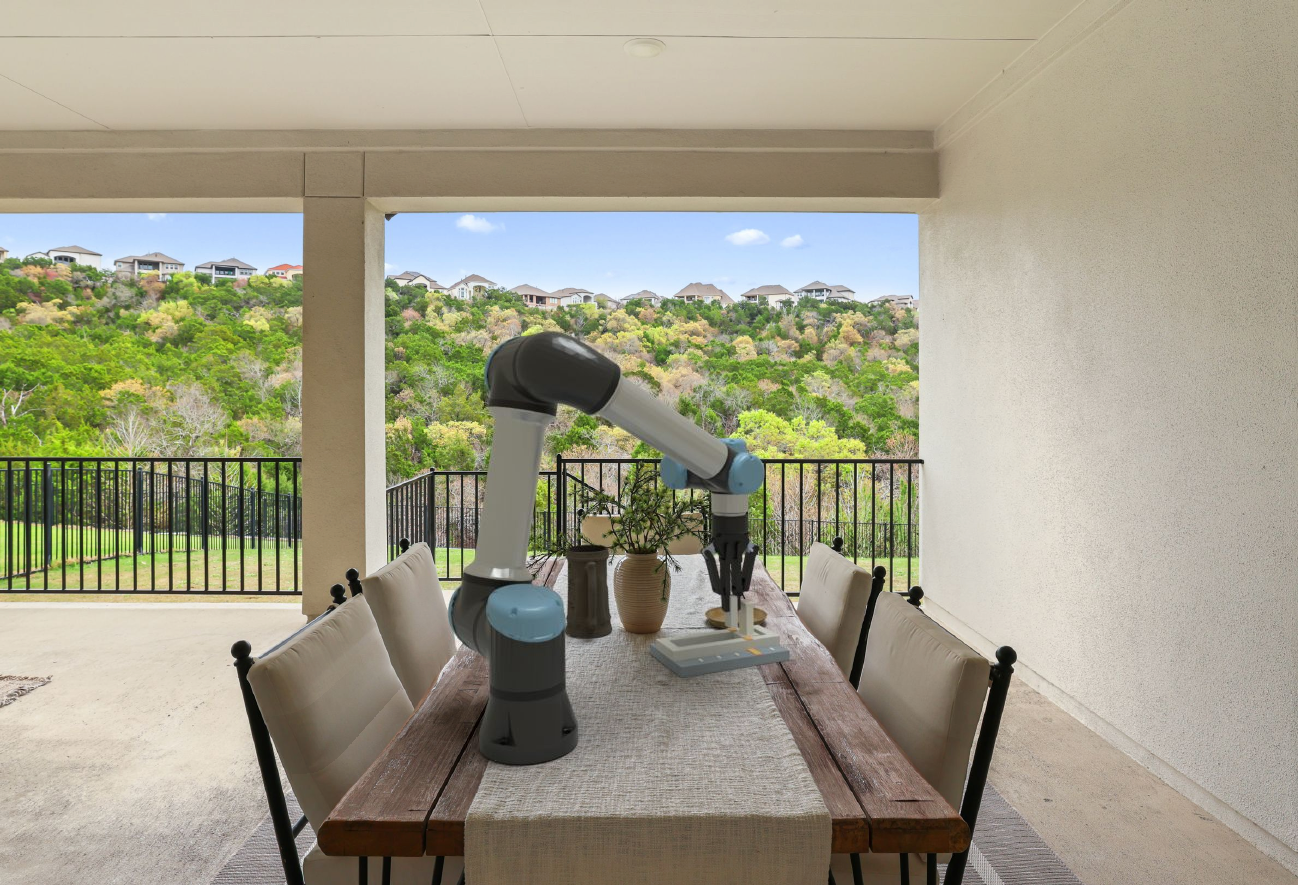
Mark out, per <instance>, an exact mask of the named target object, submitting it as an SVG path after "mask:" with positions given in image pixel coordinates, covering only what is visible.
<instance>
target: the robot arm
mask: <svg viewBox="0 0 1298 885" xmlns="http://www.w3.org/2000/svg"><path fill="white" fill-rule="evenodd" d="M483 372H484V373H483V378H484V383H485V385H486V388H487V390H488V392H489V399H488V405H487V406H488V407H487V410H488V411H489V413H490V415H492V417H493V418H494V428H493V434H492V441H491V448H490V455H489V461H488V462H489V463H488V468H487V475H486V481H485V487H484V488H485V489H484V495H483V499H482V500H483V501H482V502H483V503H482V509H481V514H480V521H479V527H478V535H477V541H476V548H475V555H474V559H473V561H472V562H471V563H468V565H466V566H465V567H464V568H463V573H462V577H461V578H462V579H461V584H460V585H459V586H458V587H457V588H456V589H455V590H454V592H453V593H452V595H451V597H450V600H449V603H448V608H447V618H448V623H449V626H450V629H451V630H452V632H453V634H454V635H455V636H456V637H457V639H458V640H459V641H460V642H461V643H462V644H463V645H464V646H465V647H466V648H468V649H470V650H472V651H474V652H476V653H477V654H478V655H480V656H482V657H483V658H485V659H486V660H488V674H489V675H488V677H489V679H488V681H489V698H488V700H487V705H486V708H485V712H484V715H483V718H482V722H481V725H480V728H479V734H478V742H479V743H478V744H479V746H478V747H479V748H478V749H479V751H480V753H481V755H483V757H486V758H487V759H489V760H491V761H493V760H496V761H495V762H498V763H502V764H509V765H531V764H538V763H544V762H549V761H551V760H555V759H557V758H560V757H563V756H565V755H566V754H568V753H569V752H571V751H572V750H573V749H574V748H576V746H577V745H578V743H579V737H580V736H579V724H578V720H577V717H576V714H575V711H574V709H573V706H572V704H571V700H570V697H569V695H568V690H567V672H566V670H567V664H566V663H567V662H566V660H567V658H566V625H567V620H566V613H565V607H564V606H565V605H564V600H563V598H562V597H561V595H560V594H559V593H558V592H557V591H556V590H554V589H552V588H549V587H547V586H544V585H535V584H533V578H534V577H533V575H532V573H531V572H530V571H529V570H528V568H527V566H526V562H527V556H528V550H529V544H530V535H531V529H532V521H533V514H534V509H535V508H534V507H535V503H536V497H537V496H536V494H537V489H538V482H539V481H538V480H539V475H540V468H541V462H542V461H541V460H542V453H543V449H544V441H545V435H546V434H545V433H546V428H547V426H549V425H550V424H552V423H553V422H555V420H556V419H557V414H558V413H557V412H558V406H559V405H564V406H568V407H570V408H573V409H575V410H578V411H580V412H582V413H583V414H585V415H587V416H589V417H593V416H596V415H598V416H600V417H601V418H603V419H604V420H606V421H609V423H611V424H613V425H615V426H617V427H618V428H620V429H622V430H623V431H625V432H626V433H628V434H630V435H631V436H632V437H634V438H636V439H638V440H639V441H641V442H642V443H644V444H646V445H648V446H649V447H650V448H652V449H654V450H656V451H658V452H659V453H661V454H663V457H662V458H661V460H660V462H659V463H660V464H659V475H660V479H661V481H662V484H663V485H664V486H665V487H666V488H667V489H669V490H680V491H683V490H686V489H687V490H689V489H692V490H694V489H695V490H700V491H707V492H708V491H709V492H710V493H711V495H710V496H711V512H712V513H713V514H712V515H711V532H712V536H711V539H710V544H709V545H708V546H706V547H703V548H702V547H701V549H700V551H699V552H700V554H701V555H702V557H703V559H704V561H705V562H704V563H705V566H706V569H707V573H708V577H709V581H710V582H709V583H710V586H711V590H712V592H713V593H715V594H716V595H719V596H720V597H721V600H720V601H721V603H720V604H721V606H720V607H721V608H722V611H724V612H725V626H727V627H729V628H731V629H733V628H738V611H739V610H740V609H741V600H742V598H741V597H743V596H744V593H746V592H749V591H750V588H751V582H752V578H753V573H754V572H753V571H754V567H755V562H756V557H757V555H758V553H759V551H760V550H761V547H760V545H757V544H755V543H753V542H751V539H750V537H749V515H748V514H747V512H749V495H753V494H755V493H756V492H757V491H758V490H760V489H761V487H762V484H763V482H764V479H765V467H764V466H765V465H764V464H763V462H762V460H761V459H760V458H759V457H758V456H757V455H755V454H753V453H749V452H748V444H747V441H746V440H745V439H743V438H738V437H737V438H734V437H733V438H729V437H726V438H717V437H715V436H713V434H711V433H709V432H707V431H706V430H705V429H703V428H702V427H700V426H698V425H697V424H696V423H694V422H693V421H691V420H690V419H689V418H687V417H685V416H684V415H683V414H680V413H679V412H677V411H676V410H675V409H674V408H672V407H670V406H669V405H667V404H666V403H665V402H663V401H661V400H660V399H659V398H657V397H655V396H653V395H652V394H651V393H650V392H648V391H646V390H645V389H643V388H642V387H641V386H639V385H637V384H636V383H635V382H633V381H631V380H630V379H628V378H627V377H625V376H624V375H623V371H622V367H621V366H620V365H619V364H617V363H616V362H614V361H613V360H611V359H610V358H608V357H607V356H606V355H604V354H602V353H601V352H599V351H598V350H596V349H595V348H594V347H592V346H590V345H589V344H586V343H585V342H583V341H581V340H579V338H575V337H573V336H571V335H569V334H566V333H563V332H559V331H555V330H546V331H541V332H537V333H534V334H528V335H518V336H514V337H511V338H509V339H507V340H505V341H503V342H502V343H500V344H498V345H497V346H496V347H494V348H493V350H492V351H491V352H490V353H489V355H488V357H487V359H486V362H485V365H484V369H483ZM716 554H717V556H718V562H719V568H718V565H717V562H716V561H717V560H716V559H715V555H716ZM743 554H744V558H743ZM718 569H719V570H718Z"/></svg>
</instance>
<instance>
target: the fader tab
mask: <svg viewBox="0 0 1298 885" xmlns="http://www.w3.org/2000/svg"><path fill="white" fill-rule="evenodd" d="M753 607H754V608H756V606H755V602H753V601H751V600H749V599H743V598H742V599H741V609H740V610H739V631H737V632H733V637H734V639H738V638H742V637H745V636H749V637H752V636H759V634H757V633H755V632H754V621H753Z"/></svg>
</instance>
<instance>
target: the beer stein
mask: <svg viewBox="0 0 1298 885" xmlns="http://www.w3.org/2000/svg"><path fill="white" fill-rule="evenodd" d="M609 558H610V553H609V548H608V546H605V545H604V544H603V545H601V544H579V545H573V546H570V547H568V548H566V553H565V559H566V560H567V604H566V605H567V606H566V607H567V610H566V611H567V612H566V613H567V614H566V616H565V618H566V625H565V635H568V636H569V637H571V638H576V639H577V638H578V639H595V638H602V637H605V636H609V634H611V633H612V632H613V626H612V623H611V621H612V620H611V619H612V615H611V612H610V600H609V599H610V598H609V597H610V596H609V587H608V560H609Z"/></svg>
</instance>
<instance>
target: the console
mask: <svg viewBox="0 0 1298 885" xmlns="http://www.w3.org/2000/svg"><path fill="white" fill-rule="evenodd" d="M737 631H739V628H733V629H731V628H727V629H720V630H711V631H705V632H698V633H689V634H684V635H683V634H682V635H675V636H669V637H661V638H656V639H655V642H654V643H649V654H650V655H651V656H653V657H654V658H655V659H657V660H658V661H659V662H660V663H662V664H663V665H664V666H666V667H667V669H670V671H672V672H673V673H674V674H676V675H677V676H679V677H680V678H682V679H683V678H688V677H694V676H701V675H706V674H712V673H718V672H719V673H720V672H724V671H729V670H731V671H732V670H738V669H744V668H751V667H755V666H762V665H769V664H773V663H781V662H785V661H790V658H791V657H790V656H791V655H790V654H791V653H790V650H789V649H787V648H786V647H784V646H782V645H781V636H780V635H779V634H777V633H775V632H774V631H771V630H769V629H767V628H765V627H763V626H761V624H760V625H754V632H755V633H757V634H759V636H752V637H749V636H745V637H742V638H738V639H734V637H733V632H737Z"/></svg>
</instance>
